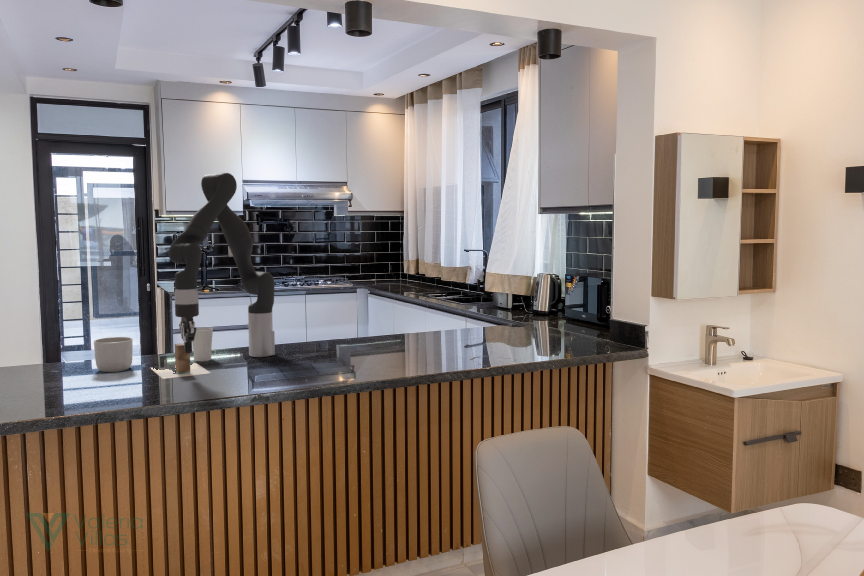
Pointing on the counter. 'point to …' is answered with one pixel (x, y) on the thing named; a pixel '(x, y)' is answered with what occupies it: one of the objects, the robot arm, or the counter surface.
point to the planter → (113, 353)
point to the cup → (202, 344)
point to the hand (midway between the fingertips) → (188, 352)
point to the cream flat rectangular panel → (194, 370)
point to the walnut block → (181, 359)
